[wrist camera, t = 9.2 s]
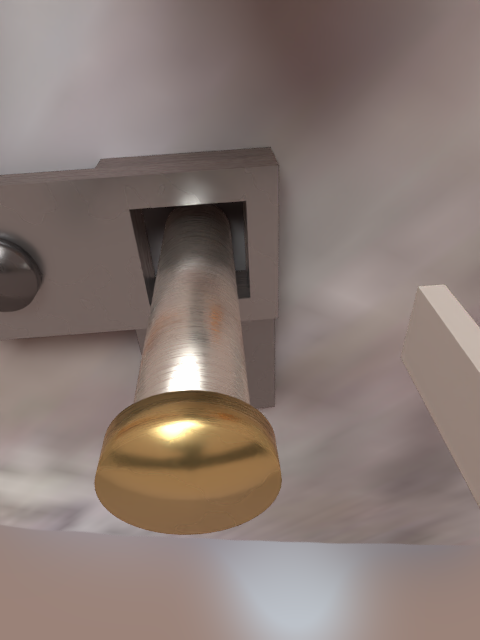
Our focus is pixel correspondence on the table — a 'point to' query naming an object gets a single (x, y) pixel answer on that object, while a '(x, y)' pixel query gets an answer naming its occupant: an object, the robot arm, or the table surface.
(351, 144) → the table surface
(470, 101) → the table surface
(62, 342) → the table surface
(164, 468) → the pin
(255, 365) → the grey latch plate
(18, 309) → the chain end
